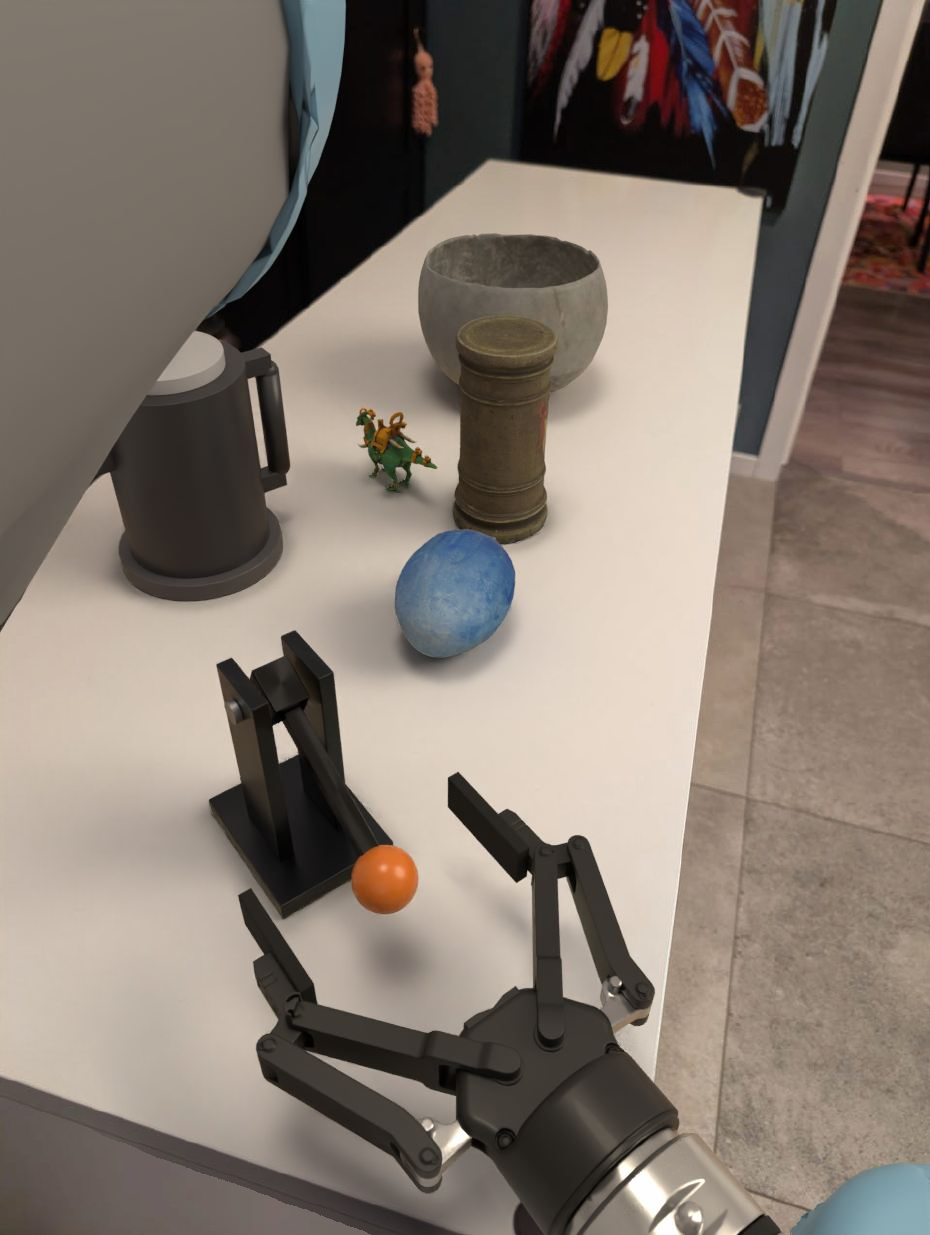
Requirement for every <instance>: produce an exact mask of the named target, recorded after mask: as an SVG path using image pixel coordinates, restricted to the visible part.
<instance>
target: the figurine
mask: <svg viewBox="0 0 930 1235" xmlns="http://www.w3.org/2000/svg"><path fill="white" fill-rule="evenodd" d="M358 412H359V415H358V416H357V417H356V419H357V420H356V422H355V426H356V427H359V426H362V427H363V437H362V439H363V442H364V443H363V444H360V443H357V445H358V447H359V448H361V449H366V448H367V453H368V456H369V458H370V460H371V462H372V463H373V464H374V468H373V472H371V474H369V475H368V477H369V478H375V477H377V476H378V473H379V472H380V471H381V472H384V473H386V476H388V478H390V480H392V484H391V485H388V486H387V487H386V488H385V489H386V490H387V491H393V490H395V492H399V488H398V484H399V483H400V484H404V485H406V486H407V487H410V486H411V483H410V480H411V477H412V475H413V473H412V472H411V466H412V464H414V465H421V466H423V467H424V468H428V469H429V468H431V469H433V470H437V469H438V466H437V465H436V464H435V463H433V462H432V458H431V457H430V456H429V455H424V457H423V455H422V454H423V450H422V449H421V448H420V447H419V446H417V447H416V448H414V449H413V448H411V446H410V445H408V443H407V442H409V443H411V444H417V442H418V441H417V440H413V439H412V438H411V437H408V436H407V435H405V433H403V432H402V431H401V429H403V430H405V429H406V427H407V423H406V422H405V421H404V418H405V414H404V413H403V412H401V411H397V412H396V411H395V412H394V413H393V414H392V415H391V416H390V418H389V421H388V424H389V426H386V425H385V422H384V419H383V418H377V421H376V422H377V428H376V426H375V424H374V420H375V417H377V414H376V412H375V411H374V409H373V408H369V409H367V408H366V407H361V408H360V409H359V411H358ZM397 418H399V421H396V422H394V421H395V420H396V419H397ZM379 465H381V466H382V468H380V467H379ZM397 468H398V469H399V468H401V469H402V470H403V471H404V472H405V473H406V475H405V477H404V479H403V478H402V479H401V480H400V479H399V478H398V475H397Z"/></svg>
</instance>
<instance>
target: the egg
mask: <svg viewBox="0 0 930 1235" xmlns="http://www.w3.org/2000/svg"><path fill="white" fill-rule="evenodd" d="M496 532H497V530H496ZM495 539H496V538H495V537H491V536H488V535H485V534H483V533H481V532H478V531H474V530H468V529H464V530H462V529H452V530H445V531H443V532H439V533H437V534H435V535H434V536H432V537H431V538H430V539H428V540H427V541H426V542H424V543H423V544H422V545H421V546H420V547H419V548H418V549H416V550H415V551H414V552H413V553H412V554H411V556H410V557H409V558H408V559H407V561H406V562H405V564H404V566H403V568H402V569H401V571H400V574H399V576H398V578H397V580H396V585H395V589H394V612H395V616H396V620H397V622H398V625H399V626H400V628H401V631H403V634H404V635H405V636H404V637H405V638H406V640H407V641H408V642H409V644H410V645H411V646H412V647H413V648H414V649H415V651H417V652H419V653H421V654H423V655H426V656H428V657H432V658H441V659H442V658H450V657H452V656H453V657H454V656H457V655H461V654H464V653H467V652H468V651H471V650H472V649H474V648H476V647H477V646H479V645H481V644H482V643H484V642H485V641H487V640H488V639H489V638H490V637H491V636H492V635H493V634H494V633H495V632H497V629H498V628H499V627H500V626H501V625H502V623H503V622H504V620H505V618H507V615H508V614H509V611H510V610H511V607H512V604H513V599H514V596H515V590H516V589H515V588H516V571H515V566H514V563H513V560H512V558H511V557H510V555H509V553H508V551H506V549H505V548H504V547H503V546H502V545H501V543H498V542H497V541H496V540H495Z"/></svg>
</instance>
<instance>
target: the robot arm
mask: <svg viewBox="0 0 930 1235" xmlns="http://www.w3.org/2000/svg"><path fill="white" fill-rule="evenodd" d="M346 9H347V3H346V0H0V633H1V632H2V630H3V629H4V627H5V625H6V624H7V622H8V621H9V619H10V617H11V615H12V614H13V612H14V610H15V609H16V607H17V606H18V605H19V604H20V602H21V601H22V599H23V597H24V595H25V594H26V591H27V589H28V588H29V585H30V584H31V583H32V581H33V579H34V577H35V576H36V574H37V573H38V571H39V569H40V567H41V566H42V564H43V563H44V561H45V559H46V558H47V556H48V554H49V553H50V552H51V550H52V548H53V546H54V544H55V542H56V541H57V540H58V538H59V536H60V535H61V533H62V531H63V530H64V528H65V526H66V525H67V523H68V522H69V520H70V518H71V516H72V515H73V513H74V511H75V510H76V508H77V507H78V505H79V503H80V502H81V500H82V498H83V497H84V495H85V494H86V492H87V490H88V488H89V487H90V485H91V483H92V482H93V480H94V479H95V478H96V477H95V475H96V474H97V472H98V470H99V469H100V467H101V465H102V464H103V462H104V461H105V459H106V457H107V456H108V454H109V452H110V451H111V449H112V447H113V446H114V444H115V442H116V441H117V439H118V438H119V436H120V435H121V433H122V432H123V430H124V428H125V427H126V425H127V424H128V422H129V421H130V419H131V418H132V416H133V415H134V413H135V412H136V410H137V409H138V407H139V406H140V404H141V403H142V401H143V400H144V398H145V397H146V395H147V394H148V393H149V391H150V390H151V388H152V387H153V385H154V384H155V383H156V381H157V380H158V378H159V377H160V376H161V374H162V373H163V371H164V370H165V369H166V367H167V366H168V365H169V363H170V362H171V361H172V359H173V358H174V356H175V355H176V354H177V352H178V351H179V350H180V348H181V347H182V346H183V345H184V343H185V342H186V341H187V339H188V338H189V337H190V336H191V334H192V333H193V332H194V331H196V330H197V328H198V327H199V326H200V324H202V322H203V321H204V320H207V319H209V318H211V317H212V316H214V315H215V314H216V313H217V312H218V311H221V310H222V309H223V308H225V307H226V305H227V304H228V303H231V302H234V301H236V300H239V299H241V298H242V297H243V296H244V295H245V294H246V293H247V292H249V290H250V289H252V287H254V286H255V285H256V284H257V283H258V282H259V281H260V280H261V278H262V277H264V275H265V274H266V273H267V272H268V271H269V270H270V268H271V267H272V265H273V264H274V262H275V261H276V260H277V258H278V256H279V255H280V253H281V251H282V250H283V248H284V246H285V244H286V242H287V240H288V238H289V237H290V235H291V233H292V231H293V229H294V227H295V225H296V223H297V220H298V218H299V215H300V213H301V210H302V207H303V204H304V202H305V200H306V199H305V198H306V197H307V193H308V186H309V184H310V181H311V180H312V177H313V175H314V173H315V172H316V169H317V167H318V165H319V162H320V160H321V157H322V154H323V150H324V148H325V145H326V142H327V139H328V136H329V134H330V133H329V132H330V129H331V125H332V121H333V119H334V118H333V117H334V113H335V110H336V105H337V99H338V94H339V88H340V83H341V76H342V69H343V61H344V60H343V58H344V50H345V49H344V48H345V40H346V39H345V36H346V11H347V10H346ZM447 808H448V809H449V810H450V811H451V812H452V814H453V815H454V816H455V817H456V818H457V819H458V820H459V822H461V824H462V825H463V826H464V827H465V829H467V830H468V831H469V833H470V834H471V835H472V836H473V837H474V838H475V839H476V840H477V842H478V843H479V844H480V845H481V846H482V847H483V848H484V849H485V850H486V852H487V853H489V855H490V856H491V857H492V858H493V860H494V861H496V862H497V864H498V866H500V867H501V868H502V869H503V870H504V871H505V872H506V874H507V875H508V876H509V877H510V878H511V879H512V881H513V882H515V884H518V883H519V882H521V881H522V880H524V879H525V878H527V877H528V873H529V874H530V875H531V879H530V880H531V881H530V887H531V923H532V924H531V926H532V927H531V931H532V932H531V933H532V987H522V988H518V987H517V986H516V985H515V986H513V987H512V988H510V989H509V990H507V991H506V992H504V994H502V995H501V997H500V998H499V999H498V1000H497V1001H496V1003H495V1004H494V1006H493V1007H491V1008H488V1009H485V1010H482V1011H480V1012H478V1013H476V1014H474V1015H473V1016H471V1017H470V1018H468V1019H467V1020H466V1021H465V1022H463V1029H462V1030H461V1032H460V1033H459V1034H458V1035H457V1034H452V1033H449V1032H445V1031H442V1030H430V1031H429V1032H427V1031H426V1032H424V1031H421V1030H417V1029H414V1028H410V1027H405V1026H403V1025H399V1024H394V1023H390V1022H386V1021H383V1020H379V1019H375V1018H372V1017H367V1016H364V1015H362V1014H361V1015H360V1014H356V1013H352V1012H349V1011H345V1010H342V1009H337V1008H333V1007H329V1006H325V1005H322V1004H318V998H317V992H316V987H315V983H314V981H313V979H312V978H311V977H310V975H309V974H308V972H307V971H306V969H305V967H304V966H303V965H302V963H301V961H300V960H299V958H298V957H297V955H296V954H295V953H294V951H293V949H292V948H291V946H290V945H289V943H288V942H287V940H286V939H285V937H284V935H283V934H282V933H281V931H280V930H279V928H278V927H277V925H276V924H275V922H274V921H273V919H272V918H271V916H270V915H269V913H268V911H267V910H266V908H265V907H264V906H263V903H262V902H261V901H260V899H259V898H258V896H257V895H256V893H255V892H254V890H253V889H252V887H249V888H248V889H247V890H244V891H243V892H240V893H239V894H237V898H238V902H239V906H240V910H241V914H242V917H243V918H242V919H243V923H244V925H245V927H246V929H247V931H248V932H249V933H250V935H251V937H252V939H253V940H254V941H255V943H256V944H257V946H258V948H259V949H260V951H261V953H262V954H263V955H262V956H260V957H258V958H257V959H255V960H253V961H252V966H253V973H254V977H255V981H256V985H257V988H258V989H259V991H260V993H261V995H262V996H263V998H264V999H265V1000H266V1002H267V1004H268V1006H269V1007H270V1009H271V1011H272V1012H273V1014H274V1016H275V1017H276V1018H277V1021H276V1024H275V1026H273V1028H272V1029H271V1030H270V1032H268V1033H265V1034H262V1035H261V1036H260V1037H259V1039H258V1040H257V1042H256V1043H255V1051H256V1055H257V1056H256V1057H257V1059H258V1062H259V1063H258V1064H259V1067H260V1070H261V1073H262V1076H263V1079H265V1081H266V1082H268V1083H269V1084H271V1085H273V1086H274V1087H276V1088H278V1089H280V1090H281V1091H283V1092H284V1093H285V1094H287V1095H289V1096H291V1097H293V1098H294V1099H296V1100H297V1101H300V1102H301V1103H302V1104H304V1105H305V1106H308V1107H309V1108H311V1109H313V1110H314V1111H316V1112H318V1113H319V1114H321V1115H323V1116H324V1117H326V1118H328V1119H329V1120H331V1121H333V1122H334V1123H336V1124H338V1125H339V1126H341V1127H342V1128H344V1129H346V1130H347V1131H349V1132H350V1133H353V1134H354V1135H356V1136H357V1137H359V1138H361V1139H363V1140H364V1141H366V1142H367V1143H369V1144H370V1145H373V1146H374V1147H376V1148H377V1149H379V1150H381V1151H382V1152H384V1153H385V1154H387V1155H389V1156H391V1157H392V1158H393V1159H394V1160H395V1162H397V1164H398V1165H399V1166H400V1168H401V1169H402V1170H403V1171H404V1173H405V1175H407V1177H408V1178H409V1179H410V1181H411V1182H412V1183H413V1184H414V1186H415V1187H416V1189H417V1190H418V1191H420V1192H421V1193H422V1194H426V1195H430V1194H433V1193H435V1192H437V1191H438V1190H439V1189H440V1187H441V1185H442V1183H443V1174H444V1173H445V1172H447V1170H448V1169H449V1168H450V1167H451V1166H452V1165H454V1163H455V1162H456V1161H457V1160H459V1158H461V1156H462V1155H464V1154H465V1152H467V1151H468V1150H469V1149H470V1148H471V1147H472V1148H474V1149H475V1150H478V1151H480V1152H481V1153H483V1154H484V1155H486V1156H487V1157H488V1158H489V1159H490V1160H491V1162H492V1163H493V1164H494V1165H495V1167H496V1168H497V1170H498V1171H499V1173H500V1174H501V1176H502V1177H503V1179H504V1180H505V1182H506V1183H507V1184H508V1185H509V1187H510V1188H511V1190H512V1191H513V1193H514V1194H515V1196H516V1197H517V1199H518V1200H519V1201H520V1203H521V1204H522V1205H523V1207H524V1209H525V1210H526V1211H527V1213H528V1215H529V1216H530V1217H531V1218H532V1220H533V1221H534V1222H535V1224H536V1225H537V1227H538V1229H539V1230H540V1231H541V1233H542V1234H543V1235H786V1234H785V1233H784V1232H783V1231H781V1230H782V1229H781V1228H780V1227H779V1226H778V1224H776V1222H775V1221H774V1220H773V1219H772V1217H771V1216H770V1214H767V1212H766V1211H765V1210H764V1209H763V1208H762V1206H761V1205H760V1204H759V1203H758V1202H757V1201H756V1199H755V1198H754V1197H753V1196H752V1195H751V1194H750V1193H749V1191H748V1190H747V1189H746V1188H745V1187H744V1186H743V1184H742V1183H741V1182H740V1181H739V1179H738V1178H737V1177H736V1176H735V1175H734V1173H732V1172H731V1170H730V1169H729V1168H728V1167H727V1166H726V1164H724V1162H723V1161H722V1160H721V1159H720V1157H719V1156H717V1154H716V1153H715V1152H714V1150H712V1149H711V1147H710V1146H709V1144H707V1143H706V1141H705V1140H704V1139H703V1138H702V1137H701V1136H700V1135H699V1133H696V1132H682V1133H681V1134H680V1133H679V1132H678V1130H679V1127H680V1118H679V1109H677V1107H676V1105H674V1104H673V1103H672V1101H671V1100H670V1099H669V1098H668V1097H667V1096H666V1095H665V1094H664V1093H663V1091H662V1090H661V1089H660V1087H659V1086H657V1084H656V1083H655V1082H654V1080H652V1078H650V1076H649V1075H648V1074H647V1073H646V1071H645V1070H643V1068H642V1067H641V1066H640V1065H639V1063H637V1061H636V1059H634V1058H633V1057H632V1056H631V1055H630V1054H629V1053H628V1052H627V1051H625V1050H624V1049H623V1048H622V1047H621V1046H620V1044H619V1043H618V1040H617V1038H616V1037H615V1034H616V1033H617V1032H619V1031H621V1030H622V1029H624V1028H625V1027H627V1026H629V1025H631V1026H633V1027H641V1026H644V1025H645V1024H646V1023H647V1022H648V1019H649V1015H650V1013H651V1009H652V1006H653V1002H654V998H655V995H656V988H655V986H654V985H653V983H652V981H651V980H650V978H648V976H647V975H646V973H644V971H643V970H642V969H641V968H640V967H639V965H638V964H637V963H636V961H635V960H634V959H633V958H632V956H631V955H630V952H629V949H628V946H627V943H626V941H625V938H624V935H623V933H622V930H621V927H620V924H619V922H618V919H617V916H616V913H615V910H614V907H613V903H612V901H611V899H610V895H609V894H608V891H607V887H606V885H605V883H604V879H603V877H602V874H601V871H600V869H599V866H598V863H597V859H596V857H595V854H594V852H593V849H592V846H591V843H590V841H589V839H588V838H587V837H585V836H584V835H581V834H574V835H572V836H570V837H569V838H568V840H567V842H562V843H559V844H551V843H547V842H545V841H543V839H541V838H540V836H538V835H537V833H535V831H534V830H532V828H531V827H530V826H529V825H528V824H527V823H526V822H525V821H524V820H523V819H522V818H521V817H520V815H518V814H517V813H516V812H515V811H513V810H511V809H509V808H505V809H503V810H502V811H500V812H497V811H496V810H495V809H494V808H493V807H492V805H491V804H490V803H489V802H488V801H487V800H485V798H484V797H483V796H482V795H481V794H480V793H479V791H477V790H476V789H475V788H474V786H472V784H471V783H470V782H469V781H468V780H467V779H466V778H465V777H464V776H463V775H462V774H461V773H460V771H456V772H455V773H453V774H451V775H450V776H447ZM564 878H566V881H567V884H568V888H569V891H570V894H571V898H572V900H573V903H574V906H575V909H576V912H577V916H578V918H579V922H580V924H581V928H582V930H583V933H584V937H585V940H586V942H587V946H588V948H589V951H590V955H591V958H592V961H593V964H594V968H595V970H596V973H597V977H598V979H599V981H600V985H601V988H600V993H599V1000H600V1002H601V1003H600V1004H601V1005H602V1007H601V1008H599V1007H597V1006H595V1005H592V1004H588V1003H585V1002H581V1001H578V1000H575V999H572V998H568V997H564V986H563V985H564V984H563V982H564V981H563V962H562V961H563V959H562V956H561V938H560V937H561V934H560V933H561V932H560V930H561V929H560V904H559V880H560V879H564ZM314 1054H316V1055H319V1056H322V1057H323V1056H324V1057H328V1058H331V1059H334V1060H337V1061H342V1062H346V1063H349V1064H353V1065H357V1066H360V1067H364V1068H367V1069H371V1070H374V1071H378V1072H382V1073H386V1074H390V1075H392V1076H397V1077H400V1078H404V1079H408V1080H411V1081H416V1082H418V1083H421V1084H422V1085H423V1086H424V1087H425V1088H427V1089H429V1090H432V1091H435V1092H439V1093H443V1094H446V1095H448V1096H452V1097H455V1120H454V1121H452V1122H451V1123H441V1122H439V1121H438V1120H436V1118H433V1117H430V1116H425V1117H422V1118H420V1119H419V1120H418V1119H416V1117H415V1116H414V1115H413V1114H411V1112H409V1111H408V1110H407V1109H405V1108H404V1107H402V1105H399V1104H398V1103H396V1102H395V1101H393V1100H391V1099H389V1098H388V1097H386V1096H384V1095H383V1094H381V1093H379V1092H378V1091H376V1090H374V1089H372V1088H371V1087H370V1086H368V1085H365V1084H363V1083H362V1082H361V1081H359V1080H357V1079H355V1078H354V1077H352V1076H350V1075H348V1074H346V1073H345V1072H343V1071H341V1070H340V1069H338V1068H336V1067H335V1066H334V1065H331V1064H329V1063H328V1062H326V1061H324V1060H323V1059H321V1058H319V1057H317V1056H315V1055H314ZM789 1231H790V1233H789V1235H930V1163H913V1162H894V1163H888V1164H882V1165H879V1166H874V1167H870V1168H868V1169H866V1170H863V1171H860V1172H858V1173H856V1174H854V1175H853V1176H851V1177H850V1178H848V1179H847V1180H845V1181H844V1182H843V1183H842V1184H840V1186H839V1187H837V1189H836V1190H834V1192H832V1193H831V1194H830V1195H829V1197H827V1198H826V1199H825V1200H824V1201H822V1202H820V1203H817V1204H816V1206H815V1207H814V1208H813V1210H809V1211H807V1212H805V1213H804V1214H802V1215H801V1216H800V1219H799V1220H798V1221H797V1223H796V1225H794V1226H792V1228H791V1229H790V1230H789Z"/></svg>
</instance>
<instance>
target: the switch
mask: <svg viewBox="0 0 930 1235" xmlns="http://www.w3.org/2000/svg"><path fill="white" fill-rule="evenodd" d="M249 679H250V680H251V682H252V683H253V684H254V685H255V686H256V688H257V689H258V690H259V691H260V693H261V694H262V695H263V696H264V698H265V699H266V700H267V701H268V703H269V708H270V714H271V719H272V725H273V726H275V725H277V724H280V723H282V724H283V726H284V727H285V729H286V732H287V733H288V734H289V736H290V738H291V740H292V742H293V743H294V745H295V747H296V749H297V752H298V751H299V752H300V754H301V756H302V758H303V760H304V761H305V763H306V765H307V767H308V768H309V770H310V772H311V774H312V776H313V777H314V779H315V781H316V783H317V784H318V786H319V788H320V790H321V792H322V793H323V795H324V797H325V799H326V800H327V802H328V804H329V806H330V808H331V809H332V811H333V813H334V815H335V816H336V818H337V820H338V822H339V824H340V825H341V827H342V829H343V831H344V833H345V834H346V836H347V838H348V840H349V841H350V843H351V845H352V847H353V849H354V850H355V852H356V854H357V856H358V857H359V858H358V860H357V861H356V863H355V865H354V867H353V870H352V875H351V879H350V886H351V890H352V893H353V895H354V897H355V899H356V900H357V902H358V904H360V906H361V907H362V908H364V909H365V910H366V911H369V912H371V913H374V914H377V915H392V914H395V913H397V912H400V911H402V910H403V909H405V908H406V907H407V906H408V905H409V904H410V903H411V901H412V900H413V899H414V897H415V896H416V893H417V891H418V887H419V871H418V867H417V865H416V863H415V861H414V860H413V858H412V857H411V855H410V854H408V852H406V851H405V850H404V849H402V848H401V847H399V846H395V845H393V846H392V845H379V843H378V842H377V840H376V838H375V836H374V835H373V833H372V831H371V829H370V827H369V826H368V824H367V822H366V820H365V819H364V817H363V815H362V813H361V812H360V810H359V808H358V806H357V805H356V803H355V801H354V799H353V798H352V796H351V794H350V792H349V791H348V789H347V787H346V785H347V784H346V783H345V784H346V785H345V784H344V782H343V780H342V778H341V777H340V775H339V773H338V771H337V770H336V768H335V766H334V764H333V762H332V761H331V759H330V757H329V755H328V754H327V752H326V750H325V748H324V747H323V745H322V743H321V741H320V740H319V738H318V736H317V734H316V733H315V731H314V729H313V727H312V726H311V724H310V722H309V720H308V719H307V717H306V715H305V713H304V712H303V711H304V709H305V707H306V705H307V702H308V700H309V698H310V695H309V693H308V692H307V690H306V688H305V686H304V685H303V683H302V681H301V679H300V678H299V676H298V674H297V672H296V671H295V669H294V667H293V665H292V664H291V662H290V660H289V658H288V657H287V656H286V655H285V656H281V657H279V658H276V659H274V660H272V661H269V662H268V663H265V664H263V665H261V666H259V667H256V668H254V669H252V670H251V672H250V676H249Z"/></svg>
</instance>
